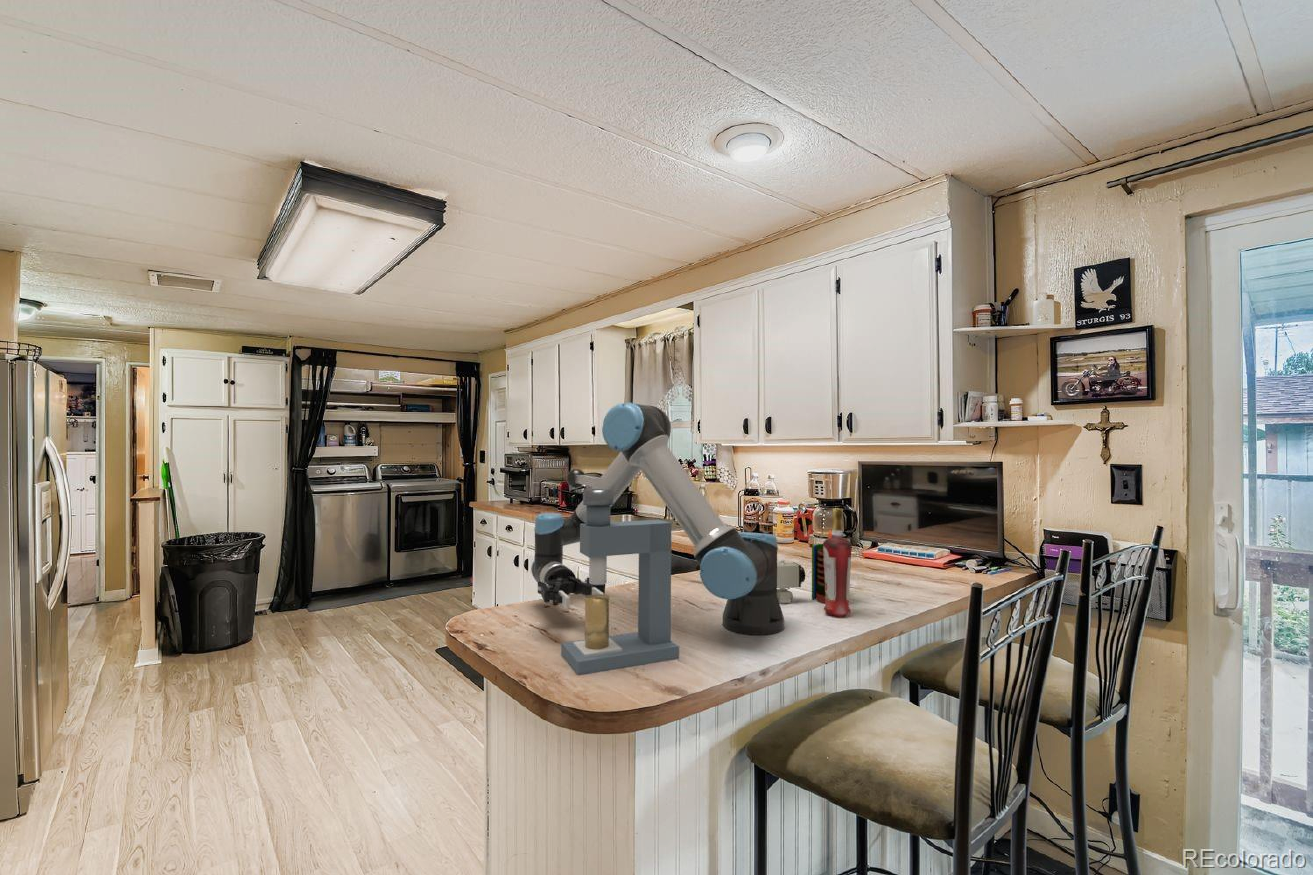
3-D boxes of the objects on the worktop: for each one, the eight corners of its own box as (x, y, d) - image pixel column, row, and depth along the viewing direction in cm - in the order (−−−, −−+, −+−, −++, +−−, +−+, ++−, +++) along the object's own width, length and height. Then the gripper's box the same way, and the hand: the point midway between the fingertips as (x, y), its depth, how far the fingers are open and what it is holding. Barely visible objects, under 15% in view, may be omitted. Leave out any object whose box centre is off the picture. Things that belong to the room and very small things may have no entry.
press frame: (655, 640, 133) (656, 500, 134) (678, 658, 122) (680, 505, 123) (561, 654, 124) (562, 503, 124) (577, 674, 113) (579, 509, 113)
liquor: (818, 610, 158) (819, 507, 158) (845, 610, 159) (845, 507, 159) (828, 618, 151) (828, 510, 151) (856, 618, 151) (856, 510, 152)
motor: (810, 602, 166) (811, 532, 166) (813, 595, 174) (813, 528, 175) (848, 606, 163) (848, 534, 163) (848, 598, 171) (848, 530, 171)
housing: (610, 641, 123) (610, 594, 124) (606, 649, 118) (607, 600, 119) (587, 640, 124) (587, 593, 124) (582, 649, 119) (583, 599, 119)
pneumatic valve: (805, 603, 165) (805, 561, 165) (766, 605, 163) (766, 562, 163) (797, 598, 171) (797, 557, 171) (759, 600, 168) (759, 558, 169)
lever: (586, 496, 139) (586, 468, 139) (618, 505, 120) (618, 472, 120) (559, 497, 137) (560, 468, 137) (588, 506, 117) (588, 473, 117)
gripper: (595, 590, 153) (627, 613, 133) (518, 598, 145) (540, 624, 124) (595, 561, 154) (628, 580, 133) (518, 568, 145) (540, 589, 124)
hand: (585, 601), depth 129 cm, fingers open, 7 cm apart
